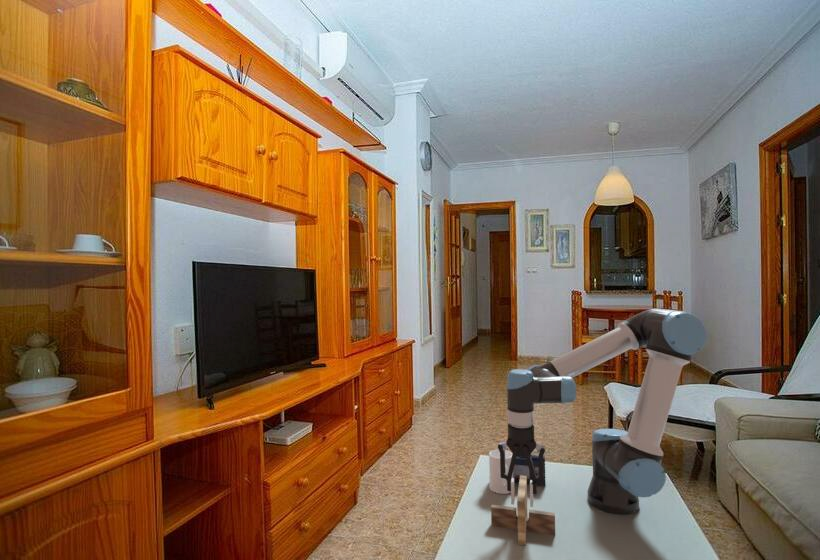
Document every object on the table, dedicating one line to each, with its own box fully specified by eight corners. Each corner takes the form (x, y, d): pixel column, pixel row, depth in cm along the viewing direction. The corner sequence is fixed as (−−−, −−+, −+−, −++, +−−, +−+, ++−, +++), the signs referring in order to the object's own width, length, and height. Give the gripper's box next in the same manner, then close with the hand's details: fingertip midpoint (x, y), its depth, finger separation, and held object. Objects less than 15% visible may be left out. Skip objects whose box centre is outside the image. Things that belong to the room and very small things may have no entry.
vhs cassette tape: (492, 481, 159) (491, 453, 159) (493, 477, 162) (492, 450, 162) (545, 487, 154) (545, 459, 154) (545, 483, 156) (545, 455, 156)
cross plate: (525, 545, 121) (524, 501, 121) (518, 544, 122) (517, 500, 122) (527, 514, 136) (526, 476, 136) (520, 513, 137) (520, 475, 137)
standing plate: (555, 531, 127) (554, 512, 127) (555, 535, 126) (554, 515, 125) (492, 522, 132) (491, 504, 132) (491, 525, 131) (491, 507, 131)
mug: (518, 498, 146) (518, 462, 146) (493, 499, 146) (492, 463, 146) (511, 482, 158) (510, 448, 158) (487, 482, 158) (486, 449, 158)
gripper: (552, 422, 130) (554, 500, 130) (491, 417, 135) (493, 493, 135) (552, 430, 122) (554, 514, 123) (488, 425, 128) (490, 505, 128)
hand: (522, 503), depth 129 cm, fingers open, 5 cm apart
